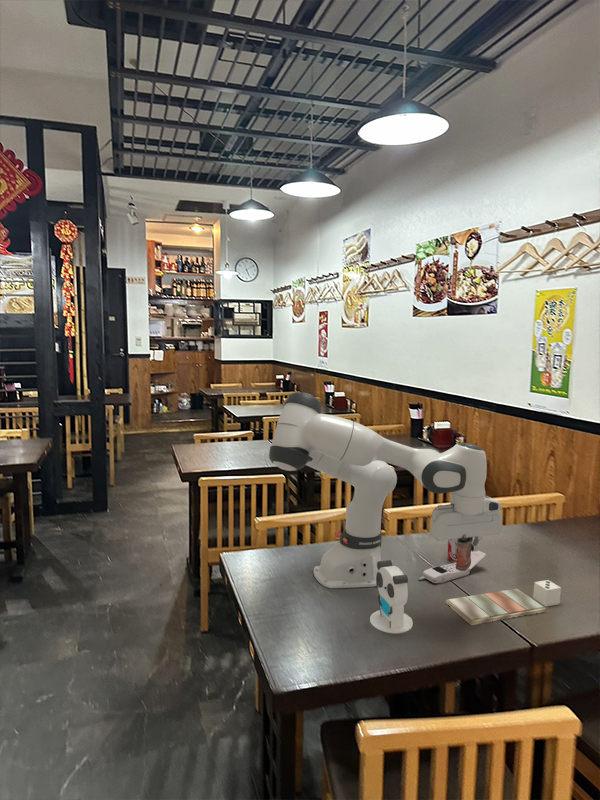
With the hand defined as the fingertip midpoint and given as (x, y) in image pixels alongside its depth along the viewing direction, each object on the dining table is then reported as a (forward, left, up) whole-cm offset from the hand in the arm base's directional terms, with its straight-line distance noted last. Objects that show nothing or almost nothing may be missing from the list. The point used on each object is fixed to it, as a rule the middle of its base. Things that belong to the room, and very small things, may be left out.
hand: (464, 551), depth 145 cm
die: (+29, -1, -18) cm, 34 cm away
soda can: (+20, +31, -18) cm, 41 cm away
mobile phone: (+12, +22, -19) cm, 31 cm away
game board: (+12, 0, -18) cm, 22 cm away
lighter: (0, 0, -4) cm, 4 cm away
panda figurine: (-20, +2, -19) cm, 28 cm away
